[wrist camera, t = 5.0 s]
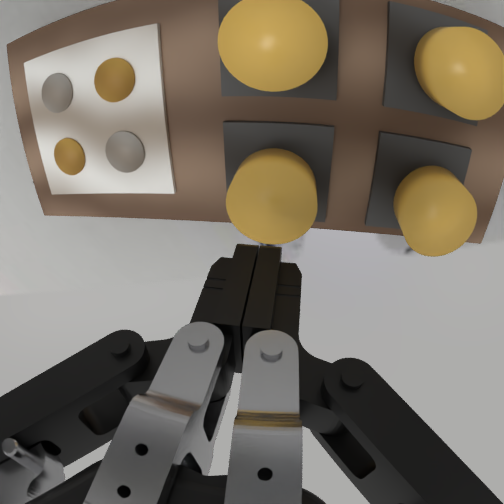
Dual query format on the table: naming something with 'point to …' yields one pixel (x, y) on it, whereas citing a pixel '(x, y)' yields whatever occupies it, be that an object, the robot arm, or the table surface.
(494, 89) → the button
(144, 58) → the button board
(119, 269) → the table surface
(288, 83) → the button
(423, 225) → the button
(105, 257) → the table surface
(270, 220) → the button
